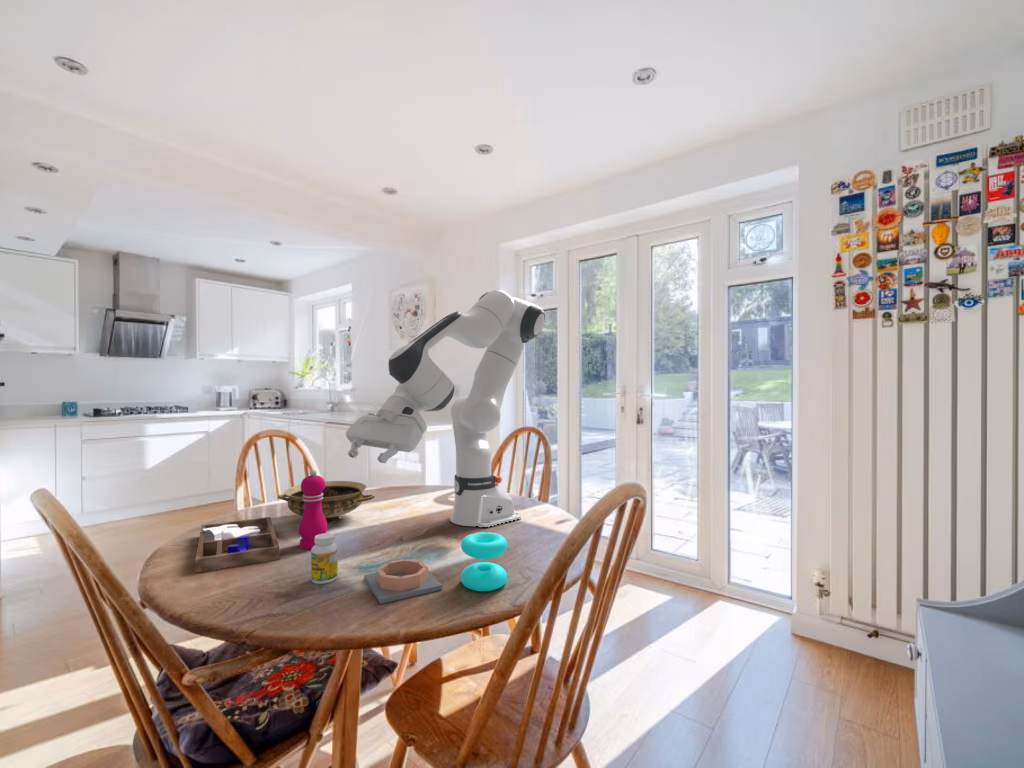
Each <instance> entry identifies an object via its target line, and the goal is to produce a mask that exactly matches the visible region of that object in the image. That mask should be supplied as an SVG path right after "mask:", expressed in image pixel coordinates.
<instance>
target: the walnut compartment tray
mask: <svg viewBox="0 0 1024 768" xmlns="http://www.w3.org/2000/svg"><path fill="white" fill-rule="evenodd" d="M230 524H236V525H238V527H240V528H243V527H251V526H257V527H258V529H260V530H263V528H265V529H266V531H268V532H265V533H258V534H256V535H249V550H247V551H241V552H234V553H228V546H229V545H234V544H237V543H238V537H235V538H227V539H220V540H213V541H206V542H205V531H204V532H201V531H200V532H199V537H198V542H197V548H196V554H195V559H194V563H195V565H194V567H195V568H194V571H195V574H198V573H197V572H199V573H203V572H202V571H205V572H210V570H211V571H216V569H217V570H222V569H221V568H223V569H228V568H227V567H229V568H234V567H233V566H235V567H240V566H248V565H253V564H260V563H265V562H271V561H276V560H280V545H279V542H278V538H277V535H276V532H275V527H274V525H273V522H272V518H271V516H264V517H257V518H249V519H242V520H233V521H232V520H231V521H226V522H224V521H223V522H215V523H210V524H209V523H208V524H202V525H201V527H200V530H201V529H205V528H212V527H219V526H222V525H230ZM266 546H267V547H266ZM268 546H269V547H268ZM258 547H259V548H258ZM253 548H254V549H253ZM255 548H256V549H255ZM224 551H227V553H225V552H224ZM213 553H214V554H215V555H214V554H213ZM205 554H207V555H210V556H205Z"/></svg>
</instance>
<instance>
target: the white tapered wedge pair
mask: <svg viewBox="0 0 1024 768" xmlns="http://www.w3.org/2000/svg"><path fill="white" fill-rule="evenodd" d="M204 531H205V542H206V541H213V540H220V539H227V538H235V537H240V536H249V535H256V534H260V533H261V529H258V527H257V526H251V527H243V528H240V527H238V525H236V524H230V525H222V526H219V527H212V528H205V529H201V528H200V532H204Z"/></svg>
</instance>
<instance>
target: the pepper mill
mask: <svg viewBox="0 0 1024 768" xmlns="http://www.w3.org/2000/svg"><path fill="white" fill-rule="evenodd" d="M300 484H301V490H302V492H303V493H304V495H303V501H304V503H305V507H304V513H303V516H301V519H299V520H300V521H299V522H298V527H297V534H298V535H299V536H300V537H301V538H300V539H299V548H300V549H304V550H312V547H313V546H314V545H316V544H315V542H314V541H315V536H316V535H319V534H323V533H327V531H328V523H327V522H326V519H325V517H324V514H323V512H322V507H321V501H322V499H323V493H322V491H323V490H324V488H325V479H324V478H323V477H322V476H320V475H318V471H317V470H316V469H311V470H310V471H309V475H308V476H306V477H304V478H303V479H302V481H301V482H300Z"/></svg>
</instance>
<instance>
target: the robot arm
mask: <svg viewBox="0 0 1024 768" xmlns="http://www.w3.org/2000/svg"><path fill="white" fill-rule="evenodd" d="M545 320H546V315H545V312H544V309H543V308H542V307H540V306H539V305H537V304H535V303H531V302H529V301H527V300H524V299H521V298H520V297H519V298H518V297H516V296H515V297H514V296H511V295H510V294H508V292H506V291H504V290H502V289H493V290H490V291H488V292H485V293H483V294H482V295H481V296H480V297H479V299H478V301H476V303H474V305H472V307H471V308H470V309H469V310H468V311H466V312H464V313H463V312H461V311H454V312H452V313H450V314H448V315H446V316H444V317H442V319H440V320H439V321H437V322H436V323H434V324H433V325H431V326H430V327H429V328H427V329H426V330H425V331H423V332H422V333H421V334H419V335H418V336H417V337H416V338H414V339H412V340H411V341H409V343H406V344H405V345H402V346H400V348H399V347H398V349H396V350H395V351H393V353H392V354H391V356H390V357H389V358H388V372H389V373H388V374H389V375H390V376H391V377H392V378H393V379H394V380H396V381H397V382H398V384H397V386H396V387H395V390H394V392H393V393H392V394H391V395H389V397H388V398H387V399H386V400H385V402H384V403H383V404H382V405H381V406H380V408H379V409H378V411H377V413H372V412H371V413H370V412H369V413H367V414H364V415H361V416H360V417H359V418H357V420H355V421H354V422H353V423H352V424H351V425H350V426H349V427H348V429H347V430H346V432H345V437H346V438H347V440H348V441H349V442H350V444H351V446H350V449H349V451H347V455H348V457H349V458H352V459H356V458H357V457H358V455H359V454H360V452H359V451H358V450H359V448H361V447H362V446H366V447H374V448H377V449H379V448H380V449H384V450H386V451H384V452H380V454H379V456H377V459H376V460H378V462H379V463H380V464H386V463H387V462H388V460H389V459H390V458H392V457H393V456H395V455H397V454H398V453H399V452H404V453H410V452H412V451H414V450H415V449H416V448H417V446H418V445H419V443H420V441H421V440H422V437H423V435H424V434H423V433H425V432H426V431H427V429H428V426H427V423H426V422H425V419H424V418H423V416H422V415H421V413H420V412H421V411H423V412H439V411H441V410H443V409H445V408H446V407H447V406H448V404H449V403H450V402H451V400H452V398H453V397H454V394H455V383H453V381H452V380H451V379H450V377H448V375H447V374H446V373H445V372H444V371H443V370H442V369H441V368H440V367H439V366H438V365H437V364H436V363H435V361H433V359H432V358H431V357H430V355H429V350H430V349H432V348H433V347H434V346H436V345H437V344H438V343H439V342H441V341H442V340H443V339H444V338H445V337H446V338H447V337H448V338H449V337H450V338H452V339H453V340H455V341H458V342H460V344H463V345H464V346H467V347H470V348H472V349H473V348H474V349H485V348H486V350H485V351H484V353H483V356H481V359H480V361H479V363H478V365H477V368H476V370H475V372H474V379H473V382H472V386H471V389H470V392H469V394H467V395H463V396H461V397H459V398H458V399H456V400H455V401H454V402H453V404H452V406H451V408H450V416H451V418H452V428H453V437H454V444H455V458H456V459H455V475H454V482H453V490H454V500H453V501H454V502H453V506H452V507H453V508H452V512H451V516H450V518H449V521H450V522H451V523H453V524H455V525H459V526H465V527H476V526H478V528H482V527H488V528H491V527H490V526H492V527H495V526H498V525H497V524H499V525H502V524H501V523H503V524H506V523H505V522H507V523H510V522H509V521H511V522H514V521H513V520H515V521H518V520H517V519H519V520H521V519H522V515H521V513H520V512H519V511H517V510H515V506H514V502H513V499H512V497H511V496H510V495H509V494H507V493H506V492H504V490H502V489H501V488H500V487H498V486H497V484H501V483H502V482H503V478H502V477H501V476H499V475H494V474H492V448H491V445H490V441H489V438H488V432H491V431H492V430H494V429H495V428H497V426H498V425H499V423H500V421H501V408H502V404H503V401H504V396H505V393H506V390H507V387H508V385H509V383H510V381H511V378H512V376H513V374H514V372H515V370H516V369H517V365H518V364H519V361H520V360H521V359H520V358H521V356H522V353H523V351H524V346H525V344H526V343H528V342H529V341H531V340H534V339H535V338H536V337H538V335H539V334H541V332H542V329H543V328H544V325H545ZM520 518H521V519H520ZM494 525H495V526H494Z"/></svg>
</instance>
